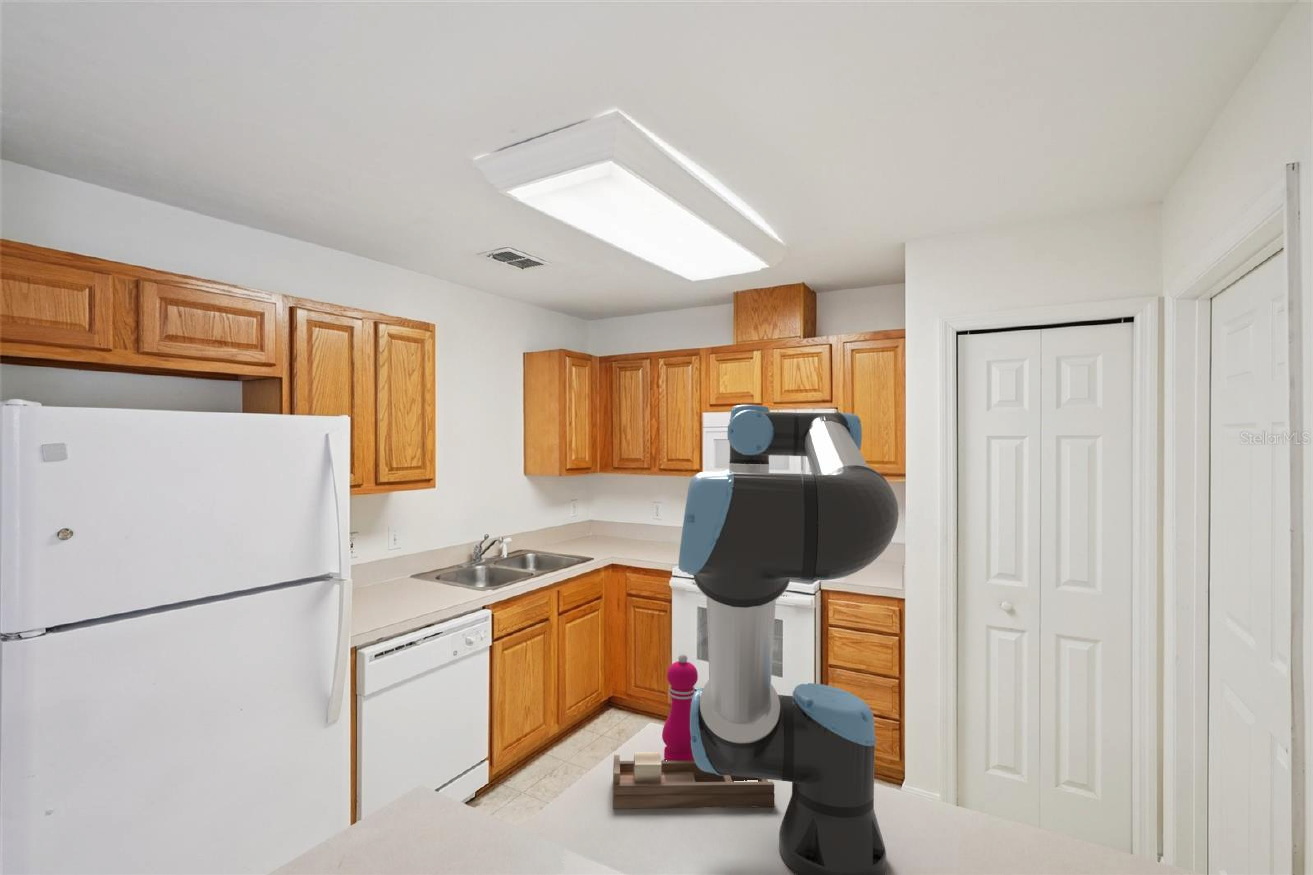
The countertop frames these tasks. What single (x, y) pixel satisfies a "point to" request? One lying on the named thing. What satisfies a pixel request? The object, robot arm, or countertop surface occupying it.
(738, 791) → the channel
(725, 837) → the countertop surface
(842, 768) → the robot arm
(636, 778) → the birch block
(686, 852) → the countertop surface
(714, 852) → the countertop surface
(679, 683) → the pepper mill
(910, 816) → the countertop surface
